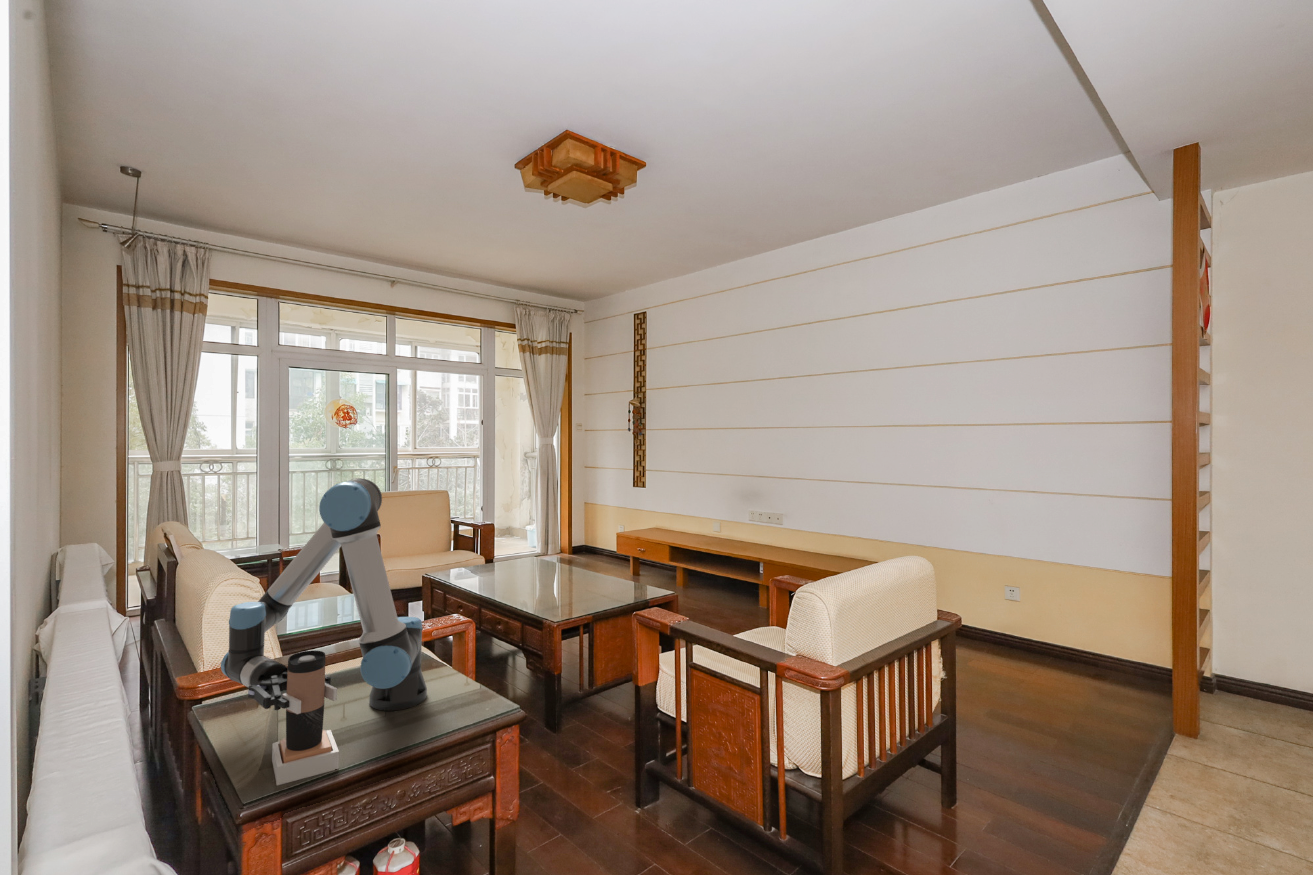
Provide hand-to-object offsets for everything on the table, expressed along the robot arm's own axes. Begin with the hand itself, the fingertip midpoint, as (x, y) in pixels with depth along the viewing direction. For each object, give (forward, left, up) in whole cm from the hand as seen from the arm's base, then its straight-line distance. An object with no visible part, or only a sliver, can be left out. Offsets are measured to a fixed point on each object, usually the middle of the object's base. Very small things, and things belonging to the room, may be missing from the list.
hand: (317, 700), depth 139 cm
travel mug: (+2, -5, -11) cm, 12 cm away
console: (+2, -4, -16) cm, 17 cm away
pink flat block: (+2, -4, -14) cm, 15 cm away
